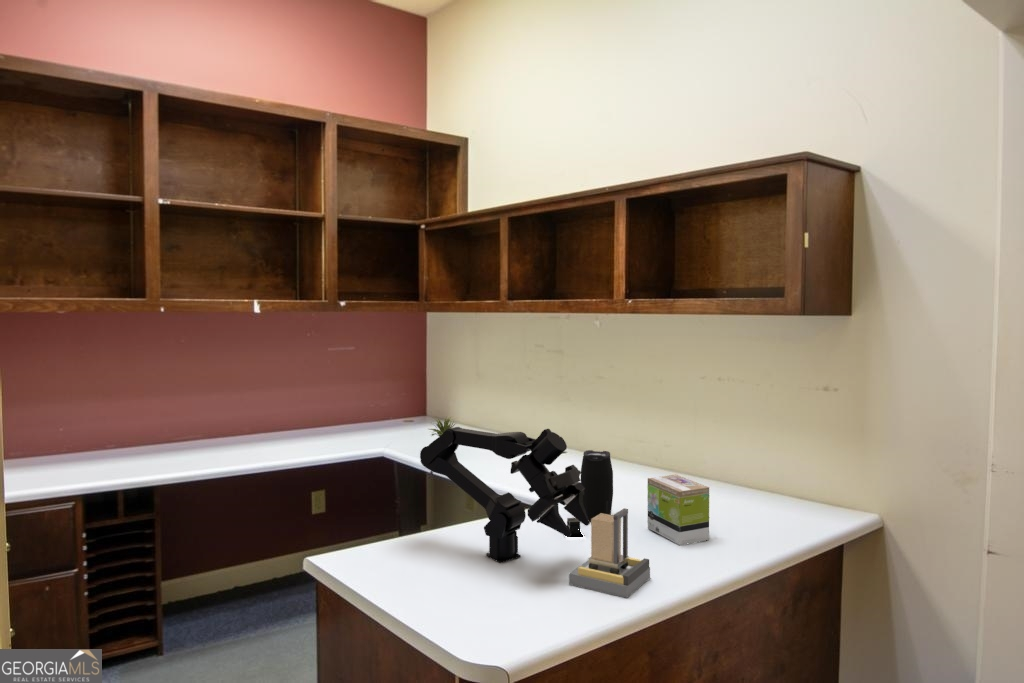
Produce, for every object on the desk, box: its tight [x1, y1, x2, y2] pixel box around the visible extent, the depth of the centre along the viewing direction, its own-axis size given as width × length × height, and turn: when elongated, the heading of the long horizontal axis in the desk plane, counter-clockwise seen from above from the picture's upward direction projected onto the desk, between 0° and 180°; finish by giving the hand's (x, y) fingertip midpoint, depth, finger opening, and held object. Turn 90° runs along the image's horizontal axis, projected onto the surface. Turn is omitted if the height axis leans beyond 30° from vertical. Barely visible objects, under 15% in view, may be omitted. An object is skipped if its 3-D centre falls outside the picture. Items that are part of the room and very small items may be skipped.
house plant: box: [428, 416, 457, 437], centre depth 295 cm, size 14×14×16 cm
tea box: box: [647, 474, 710, 546], centre depth 190 cm, size 15×10×15 cm, turn 23°
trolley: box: [587, 508, 630, 575], centre depth 159 cm, size 7×6×14 cm
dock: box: [568, 556, 651, 599], centre depth 159 cm, size 14×13×4 cm
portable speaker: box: [580, 449, 614, 521], centre depth 205 cm, size 9×9×20 cm
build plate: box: [566, 517, 583, 537], centre depth 192 cm, size 12×7×5 cm, turn 6°
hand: (579, 530), depth 163 cm, fingers open, 9 cm apart
